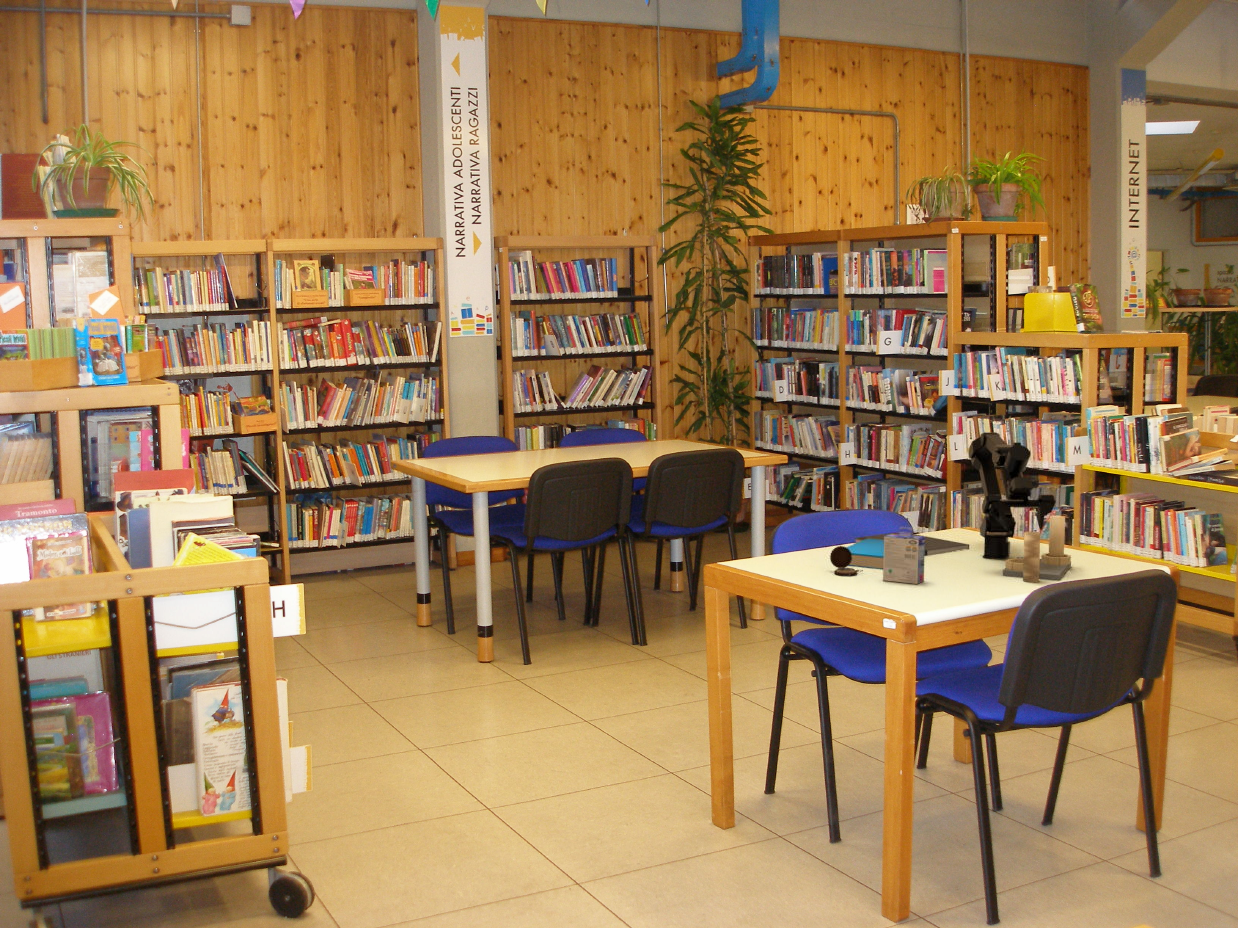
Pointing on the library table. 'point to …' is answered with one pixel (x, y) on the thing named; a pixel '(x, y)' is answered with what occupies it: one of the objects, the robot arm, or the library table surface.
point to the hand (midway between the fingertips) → (1024, 528)
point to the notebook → (927, 544)
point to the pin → (1031, 557)
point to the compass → (842, 561)
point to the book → (867, 553)
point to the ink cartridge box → (904, 557)
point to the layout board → (1042, 571)
